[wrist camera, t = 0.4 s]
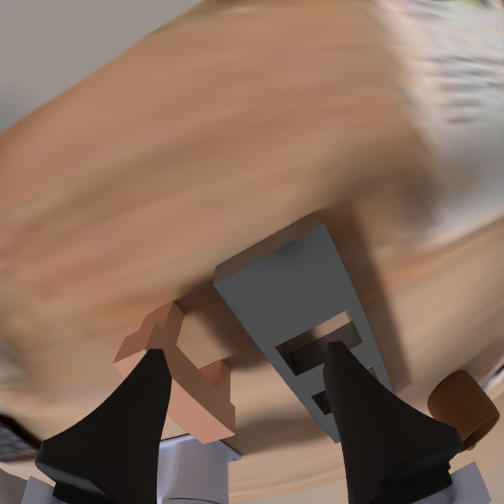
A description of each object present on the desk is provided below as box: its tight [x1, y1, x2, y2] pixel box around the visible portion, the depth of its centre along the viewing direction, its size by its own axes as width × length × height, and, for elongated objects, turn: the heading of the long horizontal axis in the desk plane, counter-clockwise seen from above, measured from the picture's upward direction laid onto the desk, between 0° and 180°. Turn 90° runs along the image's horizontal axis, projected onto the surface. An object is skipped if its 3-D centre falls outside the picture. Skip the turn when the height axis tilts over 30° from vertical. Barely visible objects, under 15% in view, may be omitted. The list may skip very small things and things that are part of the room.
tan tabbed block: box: [112, 301, 236, 444], centre depth 20 cm, size 3×10×7 cm, turn 30°
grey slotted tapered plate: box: [213, 213, 395, 443], centre depth 23 cm, size 8×24×3 cm, turn 30°
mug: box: [428, 371, 500, 453], centre depth 26 cm, size 12×8×9 cm, turn 29°
